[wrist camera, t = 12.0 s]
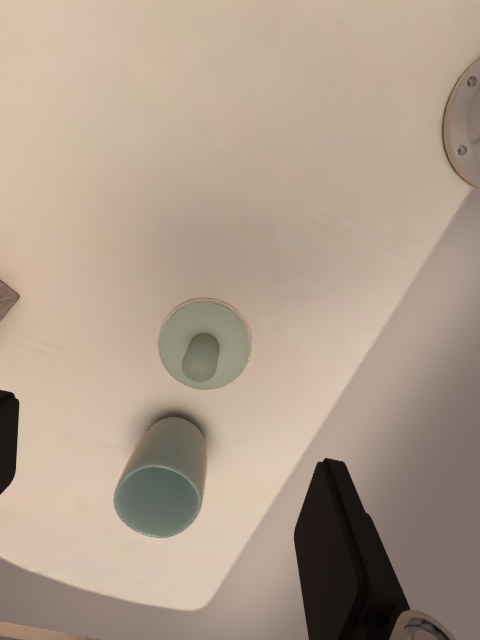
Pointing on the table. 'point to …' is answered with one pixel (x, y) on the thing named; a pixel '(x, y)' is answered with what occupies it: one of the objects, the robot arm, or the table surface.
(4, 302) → the coffee box
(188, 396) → the table surface
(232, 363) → the lid
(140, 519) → the cup
